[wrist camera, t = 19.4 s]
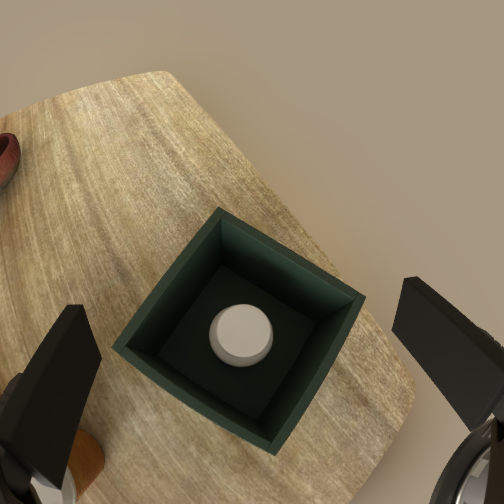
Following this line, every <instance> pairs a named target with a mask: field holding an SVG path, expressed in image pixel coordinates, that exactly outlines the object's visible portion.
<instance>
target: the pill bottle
mask: <svg viewBox="0 0 504 504" xmlns="http://www.w3.org/2000/svg"><path fill="white" fill-rule="evenodd" d="M209 340H210V345H211V347H212V350H213V352H214V354H215V355H216V357H217V358H218V359H219V360H220V361H221V362H222V363H224V364H226V365H228V366H230V367H235V368H242V367H247V366H251V365H254V364H256V363H258V362H259V361H261V360H262V359H263V358H264V357H265V356H266V355H267V354H268V352H269V351H270V349H271V346H272V343H273V329H272V326H271V323H270V321H269V319H268V318H267V317H266V315H265V314H264V313H263V312H262V311H261V310H260V309H258V308H256V307H254V306H251V305H247V304H239V305H233V306H230V307H227V308H225V309H223V310H222V311H221V312H219V313H218V314H217V315H216V317H215V318H214V320H213V321H212V324H211V326H210V331H209Z"/></svg>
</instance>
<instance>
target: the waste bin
mask: <svg viewBox="0 0 504 504" xmlns="http://www.w3.org/2000/svg"><path fill="white" fill-rule="evenodd" d="M365 298H366V296H364V295H362V294H361V293H359V292H358V291H356V290H354V289H353V288H351V287H350V286H348V285H347V284H345V283H343V282H342V281H340V280H339V279H337V278H335V277H334V276H332V275H331V274H329V273H327V272H326V271H324V270H323V269H321V268H319V267H318V266H316V265H314V264H313V263H311V262H310V261H308V260H306V259H305V258H303V257H301V256H300V255H298V254H297V253H295V252H293V251H292V250H290V249H288V248H287V247H285V246H283V245H282V244H280V243H278V242H277V241H275V240H273V239H272V238H270V237H269V236H267V235H265V234H264V233H262V232H260V231H259V230H257V229H255V228H254V227H252V226H250V225H249V224H247V223H245V222H244V221H242V220H240V219H238V218H237V217H235V216H233V215H232V214H230V213H228V212H226V211H225V210H223V209H222V208H220V207H218V208H217V209H216V210H215V212H214V213H213V214H212V215H211V216H210V218H209V219H208V220H207V221H206V223H205V224H204V225H203V226H202V227H201V229H200V230H199V231H198V232H197V234H196V235H195V236H194V237H193V239H192V240H191V241H190V242H189V244H188V245H187V246H186V247H185V249H184V250H183V251H182V252H181V254H180V255H179V256H178V258H177V259H176V260H175V261H174V263H173V264H172V265H171V267H170V268H169V269H168V271H167V272H166V273H165V274H164V276H163V277H162V278H161V280H160V281H159V282H158V284H157V285H156V286H155V288H154V289H153V290H152V292H151V293H150V294H149V296H148V297H147V298H146V300H145V301H144V302H143V304H142V305H141V306H140V308H139V309H138V311H137V312H136V313H135V315H134V316H133V317H132V319H131V320H130V322H129V323H128V324H127V326H126V327H125V329H124V330H123V331H122V333H121V334H120V336H119V337H118V338H117V340H116V341H115V343H114V344H113V346H112V347H111V348H112V349H113V350H115V351H116V352H117V353H118V354H120V356H122V357H123V358H124V359H125V360H126V361H128V362H129V363H130V364H131V365H133V366H134V367H135V368H136V369H138V370H139V371H140V372H141V373H143V374H144V375H145V376H147V377H148V378H149V379H150V380H152V381H153V382H154V383H156V384H157V385H159V386H160V387H161V388H163V389H164V390H165V391H167V392H168V393H170V394H171V395H172V396H174V397H175V398H177V399H178V400H180V401H181V402H182V403H184V404H185V405H187V406H188V407H190V408H191V409H193V410H194V411H196V412H198V413H199V414H201V415H202V416H204V417H205V418H207V419H209V420H210V421H212V422H213V423H215V424H217V425H218V426H220V427H222V428H223V429H225V430H227V431H229V432H230V433H232V434H234V435H236V436H237V437H239V438H241V439H243V440H245V441H246V442H248V443H250V444H252V445H254V446H256V447H258V448H260V449H262V450H264V451H266V452H268V453H270V454H272V455H274V456H275V455H276V454H277V453H278V451H279V450H280V448H281V447H282V446H283V444H284V443H285V441H286V440H287V438H288V437H289V435H290V434H291V432H292V431H293V429H294V428H295V426H296V425H297V423H298V422H299V420H300V419H301V417H302V415H303V414H304V412H305V411H306V409H307V407H308V406H309V404H310V403H311V401H312V399H313V398H314V396H315V394H316V393H317V391H318V389H319V387H320V386H321V384H322V382H323V381H324V379H325V377H326V375H327V374H328V372H329V370H330V368H331V366H332V365H333V363H334V361H335V359H336V357H337V355H338V353H339V352H340V350H341V348H342V346H343V344H344V342H345V340H346V338H347V336H348V334H349V332H350V330H351V328H352V326H353V324H354V322H355V320H356V318H357V316H358V314H359V312H360V309H361V307H362V305H363V303H364V301H365ZM239 304H247V305H251V306H254V307H256V308H258V309H260V310H261V311H262V312H263V313H264V314H265V315H266V317H267V318H268V319H269V321H270V323H271V326H272V329H273V343H272V346H271V349H270V351H269V352H268V354H267V355H266V356H265V357H264V358H263V359H262V360H261V361H259V362H258V363H256V364H254V365H251V366H247V367H242V368H235V367H230V366H228V365H226V364H224V363H222V362H221V361H220V360H219V359H218V358H217V357H216V355H215V354H214V352H213V350H212V347H211V345H210V340H209V331H210V326H211V324H212V321H213V320H214V318H215V317H216V315H217V314H218V313H219V312H221V311H222V310H223V309H225V308H227V307H230V306H233V305H239Z"/></svg>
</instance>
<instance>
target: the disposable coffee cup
mask: <svg viewBox="0 0 504 504" xmlns="http://www.w3.org/2000/svg"><path fill="white" fill-rule="evenodd" d="M103 467H104V456H103V452H102V450H101V448H100V446H99V444H98V443H97V442H96V441H95V439H94V438H93V437H92V436H91V435H89V434H88V433H86V432H85V431H82V430H80V429H77V432H76V435H75V439H74V442H73V446H72V449H71V453H70V457H69V460H68V464H67V468H66V472H65V476H64V480H63V484H62V489H61V491H60V490H57V489H53V488H50V487H47V486H44V485H41V484H40V483H39V482H38V481H37V480H36V479H35V478H33V477H32V479H31V482H30V483H31V484H32V485H33V486H34V488H35V489H36V492H37V494H38V496H39V498H40V500H41V502H42V504H76V502H77V501H78V499H79V498H80V497H81V495H82V494H83V493H84V492H85V491H86V489H87V488H88V487H89V486H90V485H91V483H92V482H93V481H94V480H95V479H96V477H97V476H98V475H99V474H100V473H101V471H102V470H103Z"/></svg>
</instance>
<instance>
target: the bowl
mask: <svg viewBox="0 0 504 504" xmlns="http://www.w3.org/2000/svg"><path fill="white" fill-rule="evenodd" d="M20 155H21V151H20V145H19V142H18V140H17V138H16V137H15V135H14V134H11V133H3V134H0V190H2V189H3V188H4V187H5V186H6V185H7V184H8V183H9V181H10V180H11V179H12V177H13V176H14V174H15V173H16V171H17V169H18V165H19V162H20Z"/></svg>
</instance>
